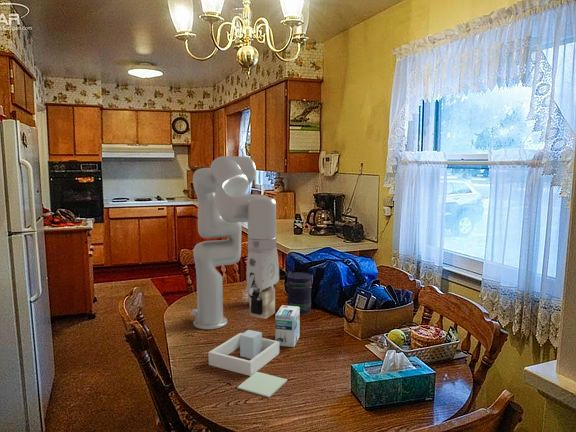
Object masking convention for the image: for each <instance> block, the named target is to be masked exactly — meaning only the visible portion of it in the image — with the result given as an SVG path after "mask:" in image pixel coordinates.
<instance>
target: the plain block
mask: <svg viewBox="0 0 576 432" xmlns="http://www.w3.org/2000/svg"><path fill="white" fill-rule="evenodd" d="M241 333H242V334H241V335H240V347H239V357H241V358H242V357H243V358H245V359H248V360H249V359H250V360H251V359H253V358H254V357H255V356H257V355H258V354H259V353H261V352H262V338H263V332H262V331H257V330H251V329H247V330H246V331H244V332H241Z"/></svg>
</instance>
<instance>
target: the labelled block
mask: <svg viewBox="0 0 576 432" xmlns="http://www.w3.org/2000/svg"><path fill="white" fill-rule="evenodd" d="M255 292H256V293H257V294H258V290H255ZM248 297H249V317H254V318H260V319H264V320H266V319H268V318H270V317H271V316H273V315H274V314H276V288H275V287H274V288H271V287H268V288H266V289H264V290H262V294H261V300H262V314H261V315H258V314H253V313H251V299H250V296H249V295H248Z"/></svg>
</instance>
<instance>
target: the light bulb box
mask: <svg viewBox="0 0 576 432" xmlns="http://www.w3.org/2000/svg"><path fill="white" fill-rule="evenodd" d="M274 316H275V318H274V320H275V321H274V322H275V324H274V327H275V330H274V333H275V334H274V335H275V338H274V339H275V341H279V347H290V348H295V346H296V344H297V342H298V340H299V338H300V336H301V335H300V325H301V324H300V320H301V318H300V316H301V315H300V307H297V306H288V305H287V304H285V305H284V304H282V305H281V306H279V309H278V310H277V312H275V315H274Z"/></svg>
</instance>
